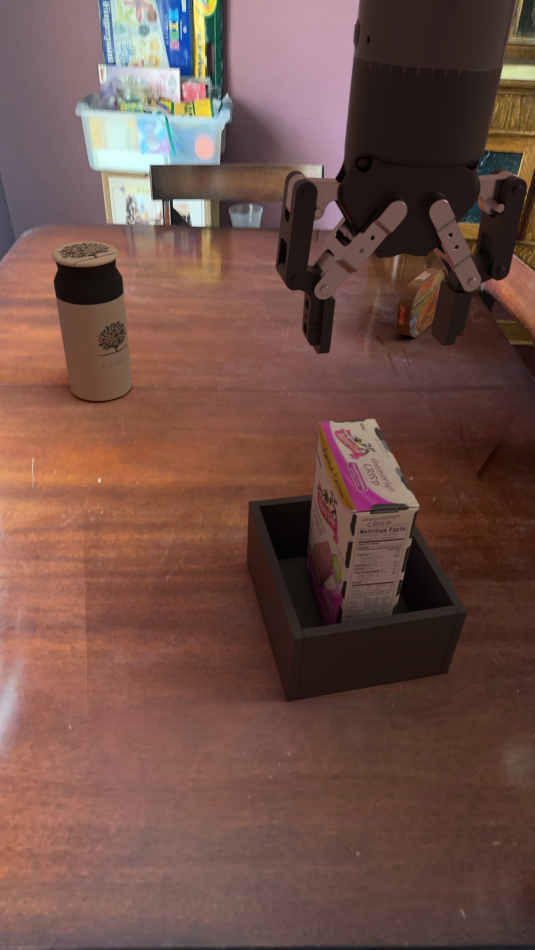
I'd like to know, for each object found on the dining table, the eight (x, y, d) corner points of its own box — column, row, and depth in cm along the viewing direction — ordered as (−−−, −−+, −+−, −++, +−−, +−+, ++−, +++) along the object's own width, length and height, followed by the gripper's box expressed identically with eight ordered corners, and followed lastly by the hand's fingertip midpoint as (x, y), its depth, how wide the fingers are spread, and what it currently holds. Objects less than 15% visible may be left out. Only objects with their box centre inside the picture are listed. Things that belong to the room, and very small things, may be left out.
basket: (380, 543, 67) (391, 484, 63) (447, 672, 55) (468, 611, 51) (246, 561, 64) (248, 501, 60) (287, 701, 52) (293, 639, 48)
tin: (407, 345, 103) (417, 292, 98) (388, 340, 104) (397, 287, 99) (443, 313, 113) (454, 263, 108) (426, 308, 114) (436, 259, 109)
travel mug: (61, 382, 90) (38, 246, 79) (116, 367, 93) (102, 236, 82) (85, 409, 85) (65, 268, 74) (142, 392, 88) (131, 256, 77)
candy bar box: (301, 566, 64) (316, 419, 54) (352, 561, 64) (376, 415, 54) (329, 663, 55) (353, 509, 45) (388, 657, 56) (424, 504, 46)
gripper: (314, 59, 30) (291, 381, 40) (595, 65, 33) (509, 363, 43) (274, 41, 36) (262, 326, 45) (516, 47, 38) (456, 314, 48)
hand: (382, 344), depth 44 cm, fingers open, 8 cm apart
